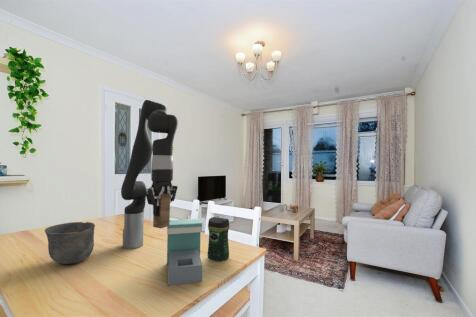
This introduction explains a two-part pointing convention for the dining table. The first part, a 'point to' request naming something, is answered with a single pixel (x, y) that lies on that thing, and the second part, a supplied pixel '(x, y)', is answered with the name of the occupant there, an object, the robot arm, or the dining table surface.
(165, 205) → the walnut peg
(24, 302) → the dining table surface
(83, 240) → the cup
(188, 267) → the socket block
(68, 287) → the dining table surface
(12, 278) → the dining table surface
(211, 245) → the coffee jar
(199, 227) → the teal two-tone block
